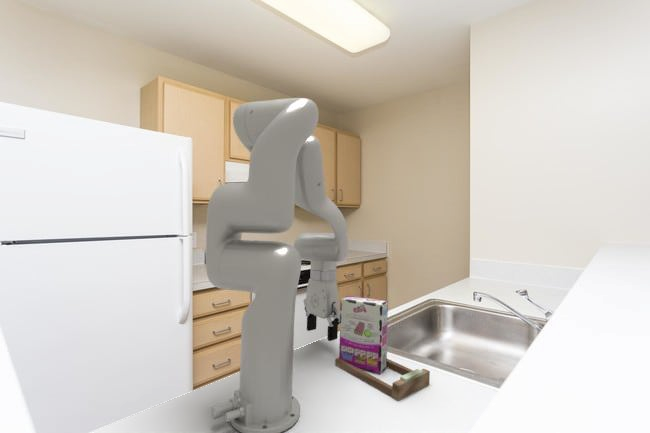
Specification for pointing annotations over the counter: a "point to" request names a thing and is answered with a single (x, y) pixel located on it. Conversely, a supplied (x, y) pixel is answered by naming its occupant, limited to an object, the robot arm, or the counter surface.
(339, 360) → the wooden box holder
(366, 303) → the candy bar box
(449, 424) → the counter surface
